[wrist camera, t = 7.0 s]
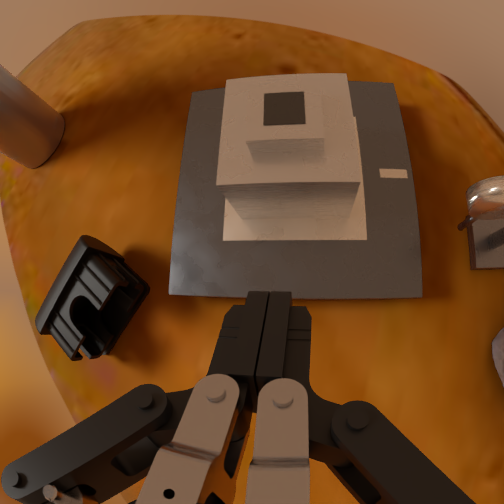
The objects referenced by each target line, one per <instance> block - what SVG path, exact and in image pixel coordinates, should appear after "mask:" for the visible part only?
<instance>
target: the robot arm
mask: <svg viewBox="0 0 504 504" xmlns="http://www.w3.org/2000/svg"><path fill="white" fill-rule="evenodd" d="M64 125H65V122H64V118H63V117H62V116H61V115H60V114H59V113H58V112H57V111H55V110H54V109H53V108H52V107H51V106H49V105H48V104H47V103H46V102H45V101H44V100H42V99H41V98H40V97H39V96H37V95H36V94H35V93H34V92H33V91H31V90H30V89H29V88H28V87H27V86H25V85H24V84H23V83H22V82H21V81H19V80H18V79H17V78H16V77H15V76H13V75H12V74H11V73H10V72H9V71H8V70H6V69H5V68H4V67H3V66H2V65H0V152H1V153H3V154H5V155H6V156H8V157H10V158H11V159H13V160H15V161H17V162H18V163H20V164H23V165H24V166H26V167H28V168H36V167H38V166H40V165H41V164H43V163H44V162H45V161H46V160H47V159H48V158H49V157H50V156H51V155H52V153H53V152H54V151H55V149H56V147H57V146H58V144H59V142H60V140H61V138H62V135H63V131H64ZM310 347H311V315H310V314H309V312H308V310H307V308H306V306H292V292H291V291H271V292H270V291H249V292H248V295H247V299H246V303H245V305H233V307H232V308H231V309H230V310H229V311H228V312H227V313H226V315H225V317H224V320H223V324H222V329H221V330H220V334H219V338H218V340H217V344H216V347H215V350H214V354H213V357H212V360H211V364H210V367H209V370H208V373H207V375H206V377H204V378H202V379H201V380H200V381H199V382H198V383H197V384H196V385H195V387H193V388H191V389H188V390H184V391H177V392H170V393H165V392H164V391H163V390H162V389H161V388H160V387H159V386H156V385H153V384H144V385H140V386H138V387H136V388H134V389H133V390H131V391H130V392H128V393H126V394H125V395H123V396H122V397H120V398H119V399H117V400H115V401H114V402H112V403H111V404H109V405H108V406H106V407H104V408H103V409H101V410H100V411H98V412H96V413H95V414H93V415H92V416H90V417H88V418H87V419H85V420H83V421H82V422H80V423H78V424H77V425H75V426H74V427H72V428H70V429H69V430H67V431H65V432H64V433H62V434H60V435H59V436H57V437H55V438H53V439H52V440H50V441H48V442H47V443H45V444H43V445H42V446H40V447H38V448H36V449H35V450H33V451H31V452H29V453H28V454H26V455H24V456H22V457H20V458H19V459H17V460H15V461H14V462H12V463H10V464H8V466H6V467H5V469H4V470H3V473H2V477H1V482H2V487H3V489H4V491H5V493H6V494H7V495H8V496H10V497H11V498H13V499H15V500H17V501H19V502H21V503H23V504H100V503H103V502H104V501H106V500H108V499H110V498H111V497H113V496H115V495H117V494H118V493H120V492H122V491H123V490H125V489H127V488H128V487H130V486H131V485H133V484H135V483H136V482H138V481H140V480H141V479H143V478H144V477H146V476H147V477H146V480H145V482H144V484H143V487H142V489H141V491H140V494H139V496H138V499H137V500H135V501H132V502H130V503H128V504H233V501H234V497H235V492H236V480H237V476H238V472H239V469H240V465H241V462H242V458H243V455H244V451H245V448H246V444H247V441H248V437H249V433H250V423H251V417H252V412H253V413H257V418H256V429H255V441H254V452H253V459H252V461H251V463H250V466H249V472H248V481H247V491H246V500H245V504H309V494H310V466H309V458H311V459H314V460H317V461H320V462H324V463H325V464H326V465H327V466H328V468H329V469H330V470H331V471H332V472H333V473H334V475H335V476H336V477H337V478H338V479H339V480H340V482H341V483H342V484H343V485H344V486H345V487H346V488H347V490H348V491H349V492H350V493H351V494H352V495H353V496H354V497H355V499H356V500H357V501H358V502H359V503H360V504H476V503H475V502H474V501H473V500H471V499H470V498H469V497H468V496H467V495H466V494H465V493H464V492H463V491H462V490H461V489H460V488H459V487H458V486H456V485H455V484H454V483H453V482H452V481H451V480H450V479H449V478H448V477H447V476H446V475H445V474H444V473H443V472H442V471H441V470H440V469H439V468H437V467H436V466H435V465H434V464H433V463H432V462H431V461H430V460H429V459H428V458H427V457H426V456H425V455H424V454H423V453H422V452H421V451H420V450H419V449H418V448H417V447H416V446H415V445H414V444H413V443H411V442H410V441H409V440H408V439H407V438H406V437H405V436H404V435H403V434H402V433H401V432H400V431H399V430H398V429H397V428H396V427H395V426H394V425H393V424H392V423H391V422H390V421H389V420H388V419H387V418H386V417H385V416H384V415H383V414H382V413H381V412H380V411H379V410H378V409H377V408H376V407H375V406H373V405H372V404H370V403H368V402H365V401H350V402H347V403H345V404H343V405H339V404H336V403H333V402H330V401H327V400H324V399H322V398H320V397H319V396H318V395H316V393H315V392H314V391H313V390H312V388H311V386H310V383H309V369H310Z"/></svg>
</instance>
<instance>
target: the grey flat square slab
mask: <svg viewBox="0 0 504 504" xmlns="http://www.w3.org/2000/svg"><path fill="white" fill-rule="evenodd" d="M348 86H349V92H350V98H351V105H352V112H353V119H354V126H355V134H356V142H357V151H358V160H359V170H360V181H361V182H360V185H359V189H358V192H357V195H356V198H355V201H354V205H353V208H352V211H351V214H350V217H349V218H289V219H241V218H240V216H239V215H238V214H237V212H236V211H235V210H234V208H233V207H232V206H231V204H230V203H229V202H228V200H227V199H226V198H225V196H224V195H223V194H222V192H221V191H220V190H219V188H218V187H217V186H216V180H217V169H218V158H219V147H220V136H221V126H222V116H223V107H224V98H225V89H226V87H225V88H217V89H210V90H203V91H197V92H192V97H191V102H190V108H189V114H188V120H187V127H186V133H185V140H184V146H183V154H182V161H181V168H180V176H179V184H178V192H177V201H176V210H175V220H174V230H173V241H172V252H171V265H170V279H169V294H170V295H176V296H196V297H220V298H247V295H248V292H249V291H270V292H271V291H291V292H292V299H307V300H356V299H411V298H421V297H422V265H421V247H420V234H419V223H418V213H417V204H416V196H415V188H414V181H413V174H412V168H411V162H410V156H409V151H408V145H407V140H406V135H405V130H404V125H403V121H402V116H401V112H400V108H399V103H398V99H397V95H396V91H395V88H394V84H393V83H382V82H361V81H348Z"/></svg>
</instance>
